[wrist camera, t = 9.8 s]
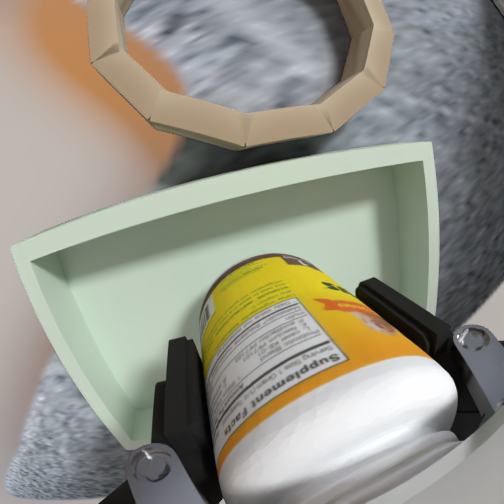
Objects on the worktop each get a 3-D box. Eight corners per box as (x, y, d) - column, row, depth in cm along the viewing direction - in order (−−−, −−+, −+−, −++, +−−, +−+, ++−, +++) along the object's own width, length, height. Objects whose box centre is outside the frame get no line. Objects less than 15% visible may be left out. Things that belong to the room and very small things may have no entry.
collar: (325, -56, 9) (340, -73, 7) (392, 128, 13) (419, 125, 11) (98, -36, 7) (90, -57, 5) (125, 181, 11) (111, 183, 9)
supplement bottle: (344, 320, 13) (497, 478, 3) (244, 383, 13) (316, 587, 3) (291, 218, 11) (565, 377, 1) (169, 297, 11) (166, 599, 1)
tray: (392, 143, 13) (431, 141, 10) (402, 328, 17) (430, 350, 14) (42, 230, 11) (9, 246, 8) (131, 413, 14) (126, 450, 12)
